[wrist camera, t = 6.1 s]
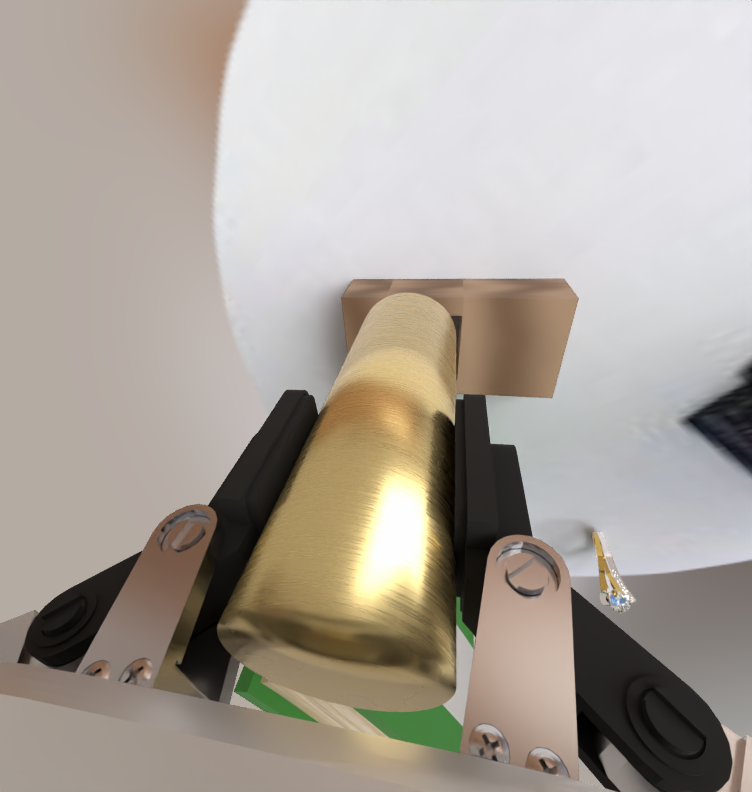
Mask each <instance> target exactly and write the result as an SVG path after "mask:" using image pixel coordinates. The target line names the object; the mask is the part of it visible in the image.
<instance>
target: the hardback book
mask: <svg viewBox="0 0 752 792" xmlns="http://www.w3.org/2000/svg"><path fill="white" fill-rule="evenodd" d="M473 644H474V643H473V633H472V632H471V631H470V630H469V629H468V627H467V626H466V625H465V624H464V623H463V622H462V612H460V597H456V691H455V694H454V695H453V697H452V698H451V699H450V700H449V701H447V702H446V703H444V704H442V705H440V706H438V707H434V708H431V709H427V710H421V711H412V712H386V711H374V710H367V709H360V708H354V707H349V706H344V705H339V704H335V703H331V702H327V701H323V700H320V699H317V698H313V697H310V696H307V695H304V694H301V693H299V692H296V691H293V690H291V689H288V688H286V687H283V686H281V685H279V684H277V683H274V682H272V681H270V680H268V679H266V678H264V677H263V676H261V675H259V674H257V673H255V672H254V671H252V670H251V669H249V668H248V667H246V666H244V667H243V670H242V672H241V675H240V677H239V680H238V682H237V685H236V688H235V690H234V692H235V693H237V694H239V695H240V696H242V697H243V698H245V699H246V700H248V701H249V702H251V703H252V704H254V705H256V706H257V707H259V708H260V709H262V710H263V711H265V712H268V713H273V714H278V715H283V716H287V717H292V718H297V719H302V720H306V721H311V722H316V723H321V724H325V725H330V726H335V727H340V728H344V729H349V730H354V731H358V732H363V733H368V734H372V735H377V736H382V737H386V738H391V739H396V740H400V741H405V742H410V743H414V744H419V745H423V746H428V747H433V748H437V749H442V750H447V751H451V752H456V753H459V751H460V744H461V737H462V730H463V723H464V716H465V709H466V702H467V695H468V688H469V681H470V674H471V667H472V660H473V653H474V645H473Z"/></svg>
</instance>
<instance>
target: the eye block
mask: <svg viewBox="0 0 752 792" xmlns="http://www.w3.org/2000/svg"><path fill="white" fill-rule="evenodd" d="M398 293H417V294H421V295H425V296H427V297H429V298H432V299H433V300H435V301H437V302H438V303H439V304H440V305H442V306H443V307H444V308H445V309H446V311H447V312H448V313H449V315H450V316H460V323H459V336H458V349H457V355H456V393H458V394H478V395H498V396H519V397H539V398H552V397H553V393H554V389H555V385H556V382H557V378H558V374H559V370H560V367H561V363H562V359H563V355H564V352H565V348H566V344H567V340H568V337H569V333H570V329H571V325H572V322H573V318H574V314H575V310H576V307H577V303H578V299H579V298H578V297H577V296H576V294H575V293H574V291H573V290H572V289H571V287H570V286H569V285H568V283H567V282H566V281H565V279H359V280H353V281H352V282H351V284H350V285H349V287H348V288H347V290H346V291H345V293H344V294H343V296H342V297H341V299H342V307H343V316H344V324H345V333H346V341H347V350H348V353H349V351H350V349H351V347H352V345H353V343H354V341H355V339H356V337H357V335H358V333H359V330H360V328H361V326H362V324H363V322H364V320H365V318H366V316H367V314H368V313H369V311H370V310H371V309H372V307H373V306H374V305H376V304H377V303H378V302H379V301H381V300H382V299H384V298H386V297H388V296H391V295H394V294H398Z"/></svg>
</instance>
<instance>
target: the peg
mask: <svg viewBox="0 0 752 792" xmlns="http://www.w3.org/2000/svg"><path fill="white" fill-rule="evenodd" d="M455 404H456V330H455V326H454V323H453V320H452V318H451V316H450V315H449V313H448V312H447V311H446V309H445V308H444V307H443V306H442V305H440V304H439V303H438V302H437V301H435V300H433V299H432V298H429V297H427V296H425V295H421V294H417V293H398V294H394V295H391V296H388V297H386V298H384V299H382V300H381V301H379V302H378V303H377V304H376V305H374V306H373V307H372V309H371V310H370V311H369V313H368V314H367V316H366V318H365V320H364V322H363V324H362V326H361V328H360V330H359V333H358V335H357V337H356V339H355V341H354V343H353V345H352V347H351V349H350V351H349V353H348V355H347V357H346V359H345V362H344V364H343V366H342V368H341V370H340V372H339V374H338V376H337V378H336V380H335V382H334V384H333V386H332V388H331V391H330V393H329V395H328V397H327V399H326V401H325V403H324V405H323V407H322V409H321V411H320V413H319V415H318V417H317V420H316V422H315V424H314V426H313V428H312V430H311V432H310V434H309V436H308V438H307V440H306V442H305V444H304V446H303V449H302V451H301V453H300V455H299V457H298V459H297V461H296V463H295V465H294V467H293V469H292V471H291V473H290V475H289V478H288V480H287V482H286V484H285V486H284V488H283V490H282V492H281V494H280V496H279V498H278V500H277V502H276V504H275V507H274V509H273V511H272V513H271V515H270V517H269V519H268V521H267V523H266V525H265V527H264V529H263V531H262V533H261V536H260V538H259V540H258V542H257V544H256V546H255V548H254V550H253V552H252V554H251V556H250V558H249V560H248V562H247V564H246V567H245V569H244V571H243V573H242V575H241V577H240V579H239V581H238V583H237V585H236V587H235V589H234V591H233V593H232V596H231V598H230V600H229V602H228V604H227V606H226V608H225V610H224V612H223V614H222V616H221V618H220V620H219V622H218V626H217V634H218V637H219V640H220V642H221V643H222V645H223V646H224V648H225V649H226V650H227V651H228V652H229V653H230V654H231V655H232V656H233V657H234V658H235V659H236V660H238V661H239V662H240V663H242V664H243V665H244V666H246V667H248V668H249V669H251V670H252V671H254V672H255V673H257V674H259V675H261V676H263V677H264V678H266V679H268V680H270V681H272V682H274V683H277V684H279V685H281V686H283V687H286V688H288V689H291V690H293V691H296V692H299V693H301V694H304V695H307V696H310V697H313V698H317V699H320V700H323V701H327V702H331V703H335V704H339V705H344V706H349V707H354V708H360V709H367V710H374V711H386V712H412V711H421V710H427V709H431V708H434V707H438V706H440V705H442V704H444V703H446V702H447V701H449V700H450V699H451V698H452V697H453V695H454V694H455V691H456V557H455V554H454V439H455Z"/></svg>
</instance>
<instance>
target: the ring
mask: <svg viewBox="0 0 752 792" xmlns="http://www.w3.org/2000/svg"><path fill="white" fill-rule="evenodd" d="M592 541H593V544H594V549H595V553H596V557H597V561H598V567H599V576H600V586H601V593H600V601H601V603H602V604H604V605H606V606H611V607H612V608H613V610H614V611H615V610H618V612H619V613H622V612H626V609H627V610H629V607H630V606H631V604H632V603H634V602H636V599H635V598H634V596H633V595H632V594H631V593H630V591H629V590H628V589H627V587H626V586H625V584H624V582H623V581H622V579H621V577H620V575H619V573H618V571H617V568H616V566H615V563H614V561H613V558H612V556H611V553H610V550H609V548H608V545H607V543H606V540H605V538H604V536H603V534H602V533H601V532H592ZM610 584H611V585H610ZM611 586H612V587H613V588H612V587H611ZM606 595H608V598H607V597H606ZM620 605H621V606H622V608H621V606H620ZM624 605H625V606H624ZM625 607H626V609H625ZM622 609H623V611H622Z"/></svg>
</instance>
